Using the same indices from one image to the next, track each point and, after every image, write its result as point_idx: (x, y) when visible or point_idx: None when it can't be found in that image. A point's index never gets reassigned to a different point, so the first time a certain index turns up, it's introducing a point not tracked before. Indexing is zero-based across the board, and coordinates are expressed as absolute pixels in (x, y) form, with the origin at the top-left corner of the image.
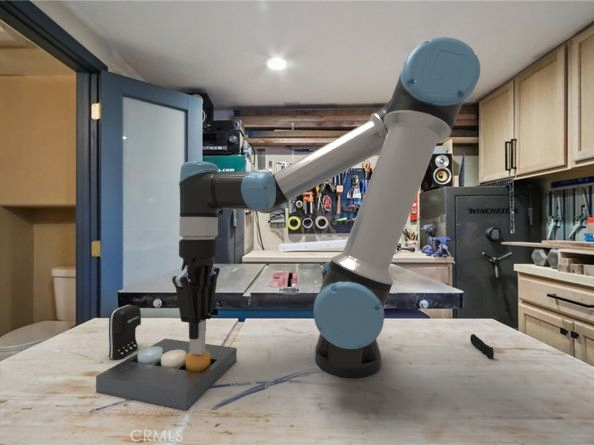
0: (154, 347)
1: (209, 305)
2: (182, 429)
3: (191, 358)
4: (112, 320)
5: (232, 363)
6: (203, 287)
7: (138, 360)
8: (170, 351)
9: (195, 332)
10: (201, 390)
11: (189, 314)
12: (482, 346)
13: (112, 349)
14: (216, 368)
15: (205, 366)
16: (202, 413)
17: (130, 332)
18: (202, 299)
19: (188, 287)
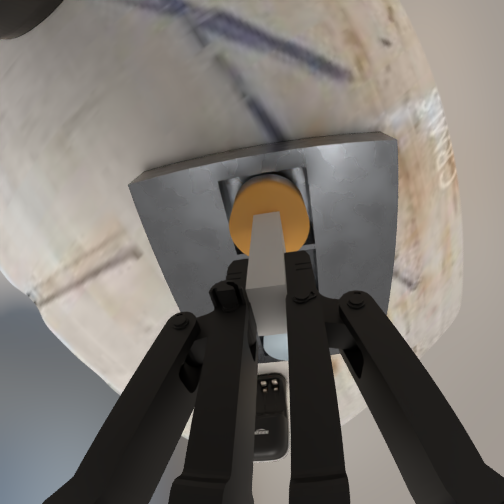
0: (271, 351)
1: (184, 351)
2: (420, 102)
3: (300, 226)
4: (288, 443)
5: (164, 166)
6: (236, 479)
7: None
8: None
9: (307, 268)
10: (326, 138)
11: (393, 329)
12: None
13: (286, 394)
14: (251, 153)
15: (276, 180)
16: (373, 91)
17: None
18: (243, 401)
19: (468, 476)
